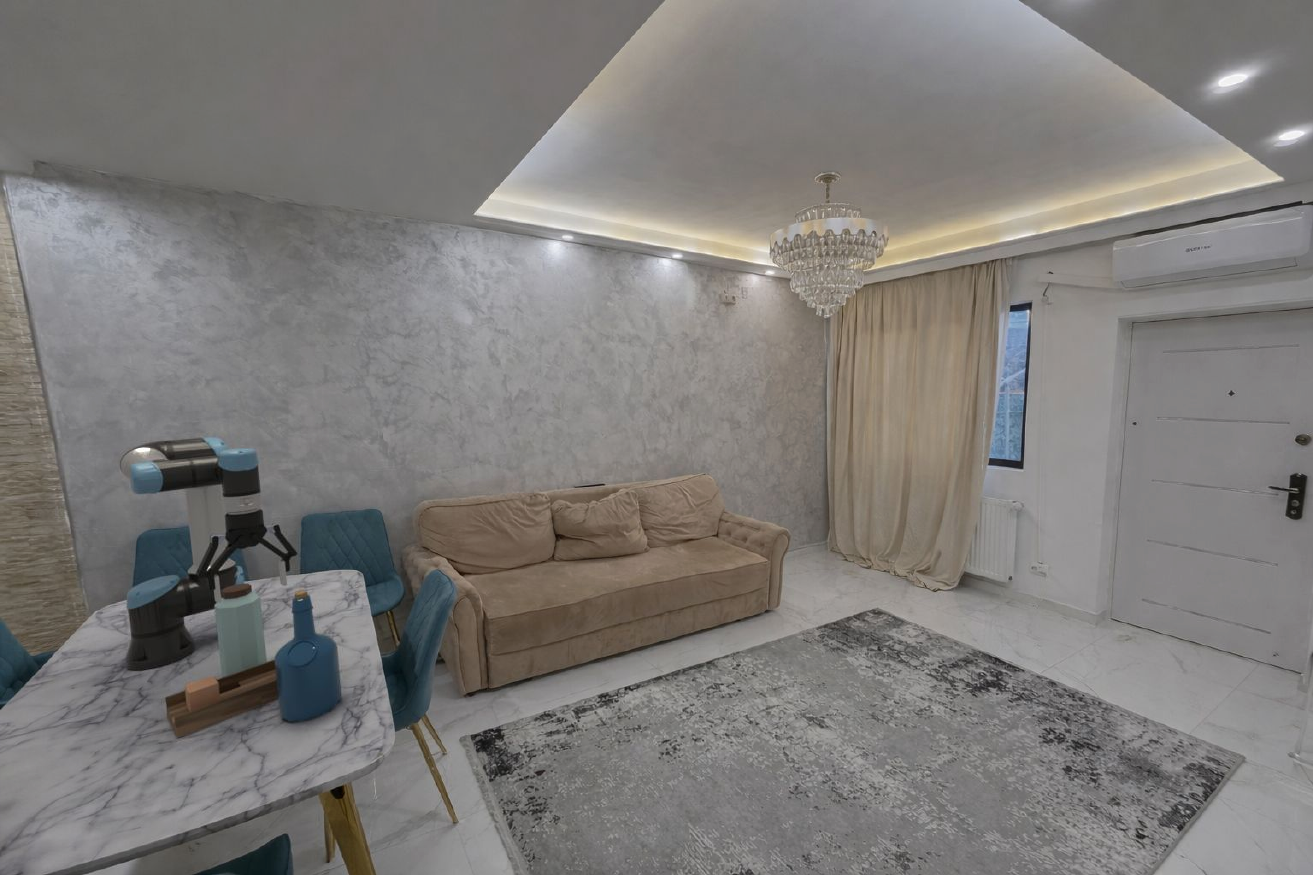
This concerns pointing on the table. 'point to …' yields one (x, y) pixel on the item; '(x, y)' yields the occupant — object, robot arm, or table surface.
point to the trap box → (225, 699)
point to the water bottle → (240, 629)
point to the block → (202, 692)
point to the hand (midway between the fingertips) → (252, 592)
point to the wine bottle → (307, 667)
